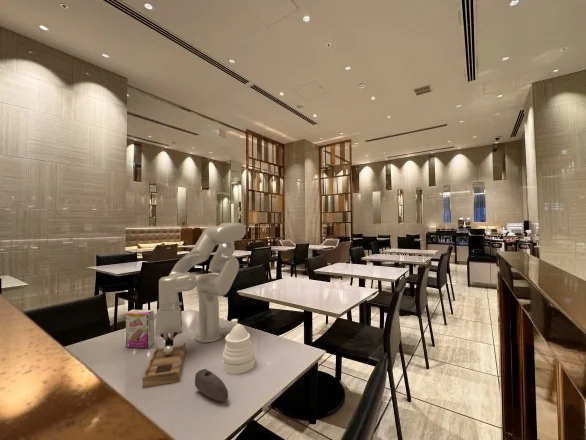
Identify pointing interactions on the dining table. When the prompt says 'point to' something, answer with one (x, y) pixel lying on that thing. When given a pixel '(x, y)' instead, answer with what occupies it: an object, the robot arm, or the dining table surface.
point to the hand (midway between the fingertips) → (169, 348)
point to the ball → (168, 350)
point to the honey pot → (238, 350)
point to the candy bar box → (139, 328)
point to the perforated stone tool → (211, 385)
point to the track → (164, 367)
